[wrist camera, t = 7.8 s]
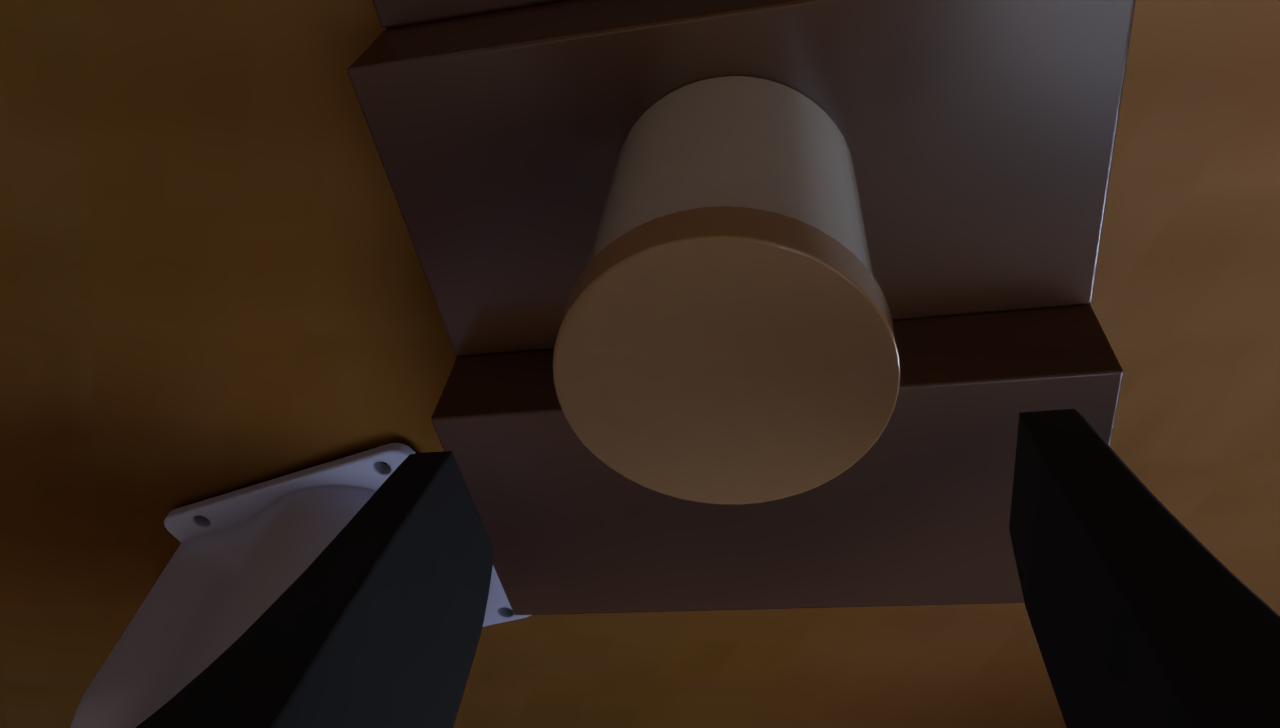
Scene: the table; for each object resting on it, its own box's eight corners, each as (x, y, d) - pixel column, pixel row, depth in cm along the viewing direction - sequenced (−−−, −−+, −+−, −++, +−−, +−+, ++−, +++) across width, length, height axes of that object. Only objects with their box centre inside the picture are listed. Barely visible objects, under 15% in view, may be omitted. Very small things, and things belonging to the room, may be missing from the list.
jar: (668, 325, 19) (640, 533, 14) (561, 126, 16) (488, 305, 12) (894, 253, 17) (940, 463, 13) (814, 21, 15) (837, 183, 10)
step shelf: (1029, 443, 24) (1082, 602, 20) (550, 470, 26) (513, 616, 22) (1147, -636, 12) (1335, -770, 8) (259, -400, 14) (72, -415, 10)
